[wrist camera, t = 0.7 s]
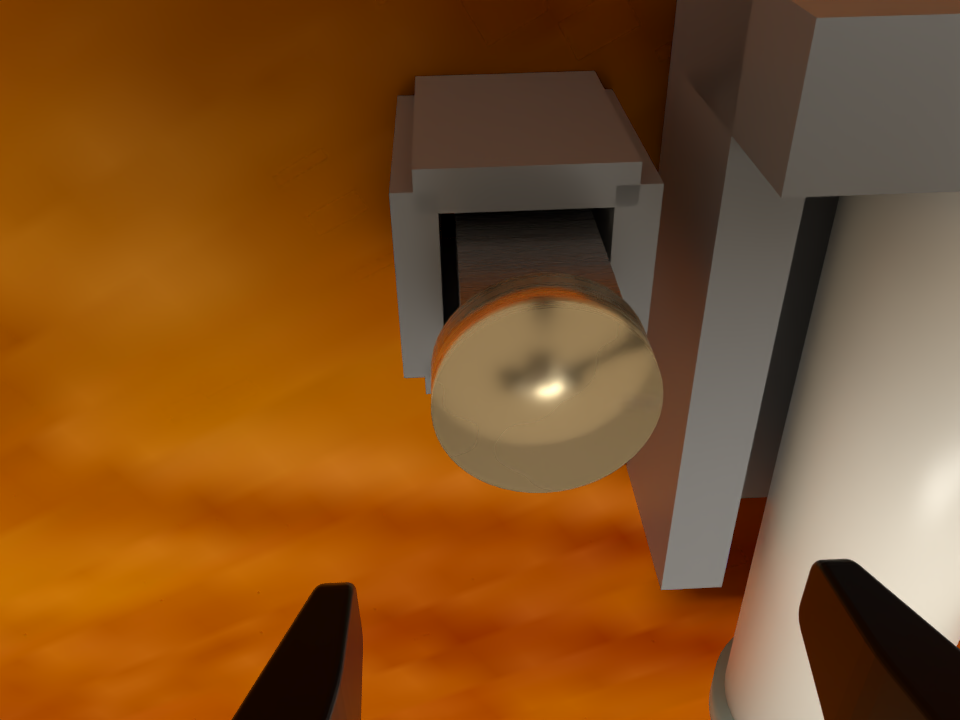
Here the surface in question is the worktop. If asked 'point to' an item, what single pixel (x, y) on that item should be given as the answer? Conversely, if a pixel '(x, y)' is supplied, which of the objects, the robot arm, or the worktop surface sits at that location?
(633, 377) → the release plunger
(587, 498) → the worktop surface
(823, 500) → the cylinder
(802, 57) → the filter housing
